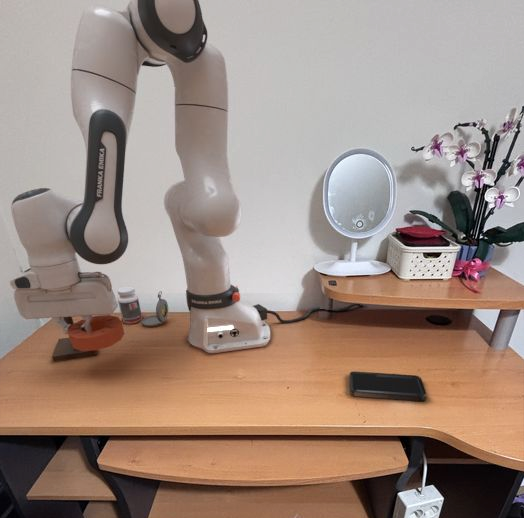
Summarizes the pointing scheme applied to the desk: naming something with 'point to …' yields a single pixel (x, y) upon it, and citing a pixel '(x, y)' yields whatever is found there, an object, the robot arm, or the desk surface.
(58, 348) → the peg on square base
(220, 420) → the desk surface
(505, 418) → the desk surface
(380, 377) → the phone
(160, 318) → the pocket watch
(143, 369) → the desk surface
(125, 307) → the pill bottle
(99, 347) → the ring
